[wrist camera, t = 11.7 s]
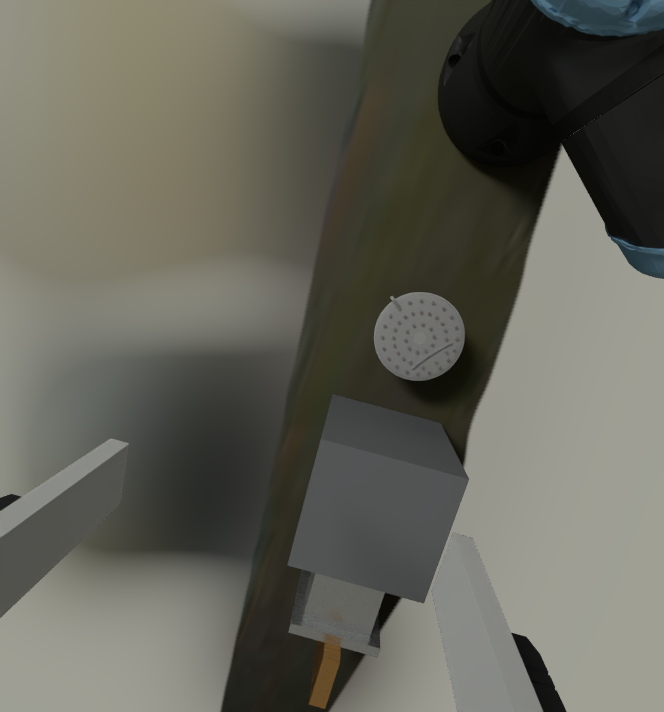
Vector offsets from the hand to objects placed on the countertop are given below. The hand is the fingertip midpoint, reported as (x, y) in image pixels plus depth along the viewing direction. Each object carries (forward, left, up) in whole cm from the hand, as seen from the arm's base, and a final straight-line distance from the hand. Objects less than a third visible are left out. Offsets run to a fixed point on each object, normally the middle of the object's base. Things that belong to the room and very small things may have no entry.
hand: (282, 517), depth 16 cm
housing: (+3, +14, -35) cm, 38 cm away
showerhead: (-9, +2, -35) cm, 36 cm away
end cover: (+13, +24, -31) cm, 41 cm away
